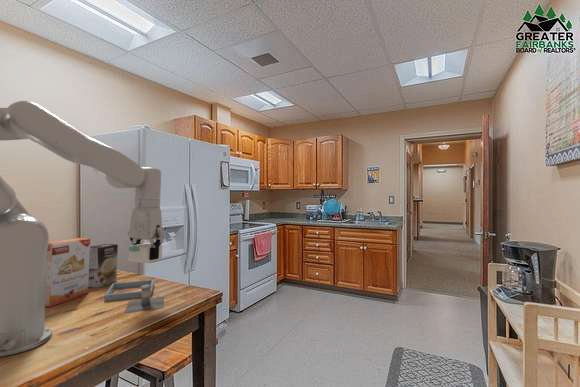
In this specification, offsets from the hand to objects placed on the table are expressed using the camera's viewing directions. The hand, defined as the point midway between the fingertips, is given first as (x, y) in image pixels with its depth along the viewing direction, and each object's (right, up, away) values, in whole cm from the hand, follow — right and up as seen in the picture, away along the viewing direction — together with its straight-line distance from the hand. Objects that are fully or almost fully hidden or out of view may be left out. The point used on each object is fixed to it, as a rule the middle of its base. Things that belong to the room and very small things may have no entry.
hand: (145, 257), depth 92 cm
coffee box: (-31, -17, +24) cm, 42 cm away
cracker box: (-32, -16, +6) cm, 36 cm away
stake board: (0, -17, 0) cm, 17 cm away
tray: (-11, -17, +11) cm, 23 cm away
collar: (0, -1, 0) cm, 1 cm away
